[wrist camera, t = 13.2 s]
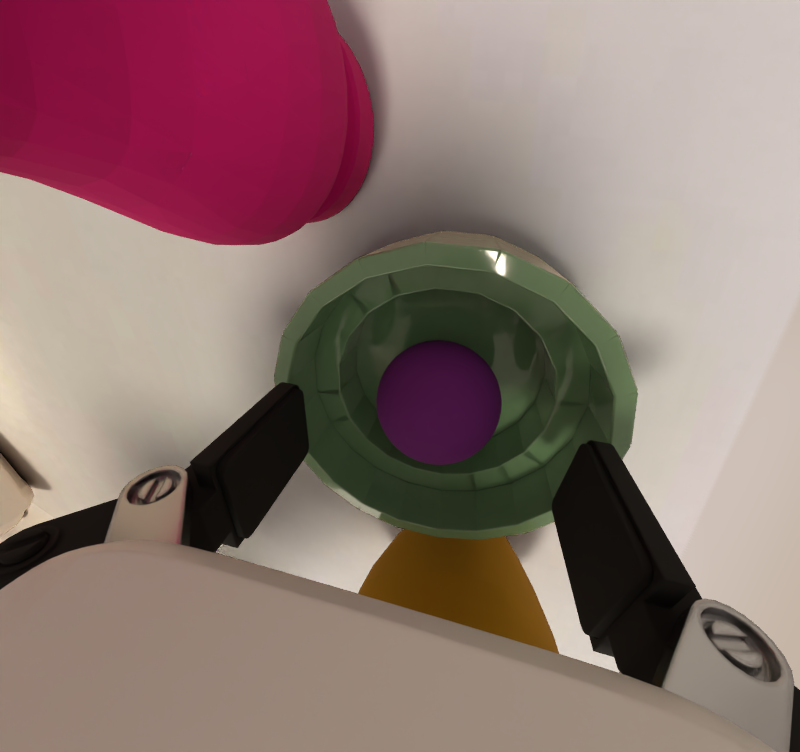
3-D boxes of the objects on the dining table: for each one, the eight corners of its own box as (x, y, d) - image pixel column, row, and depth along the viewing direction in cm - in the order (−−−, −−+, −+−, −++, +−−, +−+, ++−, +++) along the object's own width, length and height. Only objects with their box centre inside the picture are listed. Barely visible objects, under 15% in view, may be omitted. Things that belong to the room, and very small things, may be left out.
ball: (390, 405, 16) (358, 476, 12) (396, 315, 14) (359, 364, 9) (485, 423, 15) (488, 506, 11) (509, 331, 13) (526, 393, 8)
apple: (461, 447, 17) (434, 873, 6) (576, 552, 19) (710, 1012, 8) (351, 513, 23) (232, 802, 12) (450, 589, 25) (428, 896, 14)
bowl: (335, 435, 19) (293, 501, 15) (323, 218, 13) (246, 223, 8) (536, 478, 17) (555, 568, 13) (636, 247, 11) (739, 272, 7)
